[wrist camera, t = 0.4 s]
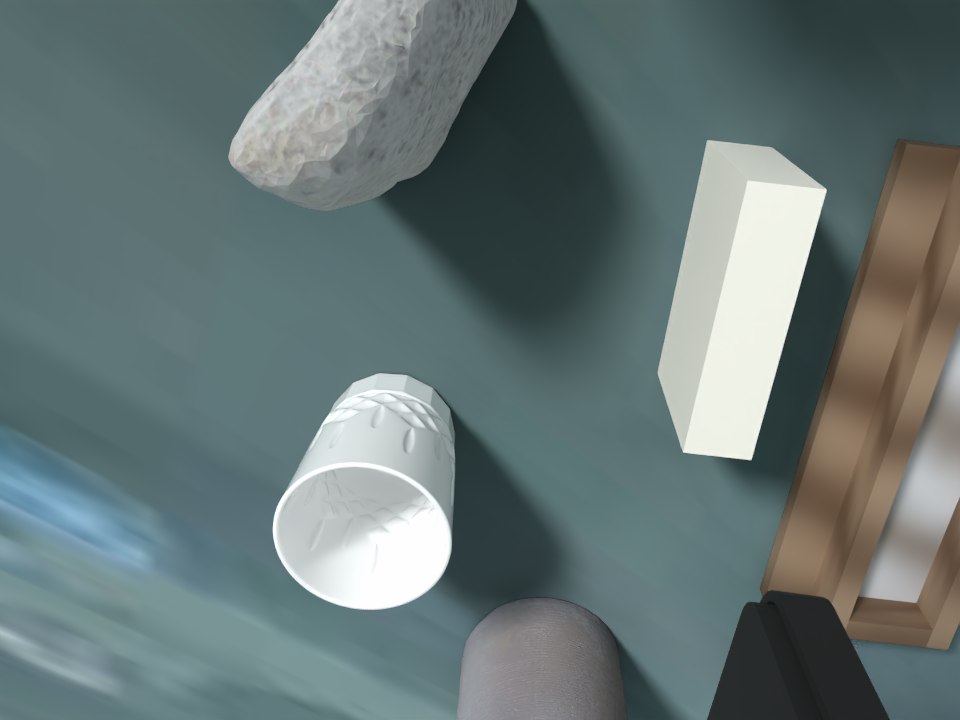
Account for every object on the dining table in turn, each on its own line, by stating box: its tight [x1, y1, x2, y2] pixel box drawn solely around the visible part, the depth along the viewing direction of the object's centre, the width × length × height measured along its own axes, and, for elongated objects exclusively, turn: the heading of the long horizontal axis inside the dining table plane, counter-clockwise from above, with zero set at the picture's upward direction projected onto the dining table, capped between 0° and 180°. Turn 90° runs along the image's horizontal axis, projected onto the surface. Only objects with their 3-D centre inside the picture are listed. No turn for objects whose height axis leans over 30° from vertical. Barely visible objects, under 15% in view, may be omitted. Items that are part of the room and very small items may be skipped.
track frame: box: [760, 140, 960, 650], centre depth 43 cm, size 26×12×3 cm, turn 174°
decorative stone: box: [228, 0, 517, 211], centre depth 32 cm, size 11×6×15 cm, turn 144°
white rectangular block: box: [658, 140, 827, 460], centre depth 39 cm, size 12×3×8 cm, turn 174°
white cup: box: [273, 373, 455, 610], centre depth 42 cm, size 8×8×10 cm
